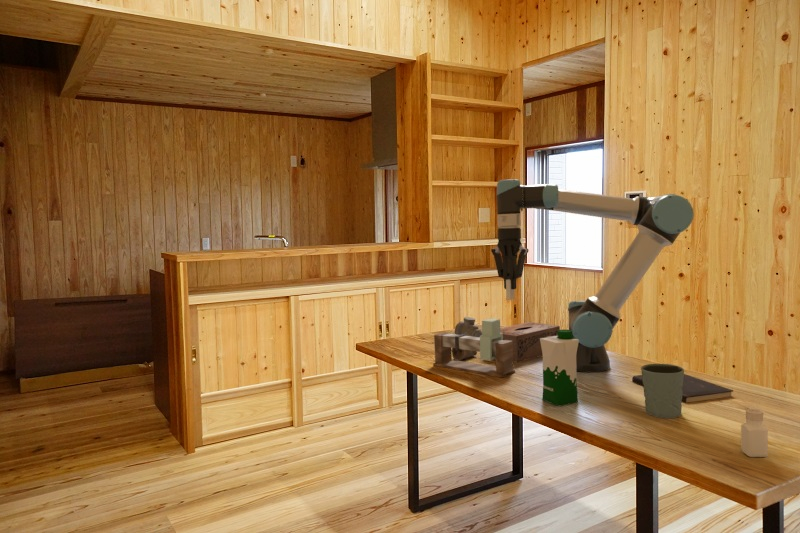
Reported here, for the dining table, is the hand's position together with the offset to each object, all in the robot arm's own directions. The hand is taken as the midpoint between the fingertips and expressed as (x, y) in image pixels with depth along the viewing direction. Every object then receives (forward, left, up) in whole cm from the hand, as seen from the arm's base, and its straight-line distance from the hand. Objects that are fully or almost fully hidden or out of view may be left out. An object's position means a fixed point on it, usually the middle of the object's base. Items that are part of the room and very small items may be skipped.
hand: (510, 299), depth 193 cm
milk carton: (-25, +16, -26) cm, 39 cm away
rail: (+16, 0, -26) cm, 30 cm away
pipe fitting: (+44, -38, -26) cm, 64 cm away
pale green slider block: (+8, 0, -21) cm, 22 cm away
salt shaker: (-75, +26, -26) cm, 84 cm away
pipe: (+31, -14, -26) cm, 43 cm away
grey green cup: (-51, +10, -26) cm, 58 cm away
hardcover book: (-48, -15, -27) cm, 57 cm away
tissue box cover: (+13, -30, -26) cm, 42 cm away
